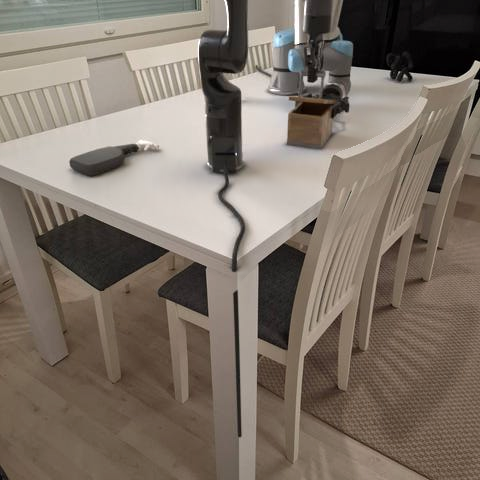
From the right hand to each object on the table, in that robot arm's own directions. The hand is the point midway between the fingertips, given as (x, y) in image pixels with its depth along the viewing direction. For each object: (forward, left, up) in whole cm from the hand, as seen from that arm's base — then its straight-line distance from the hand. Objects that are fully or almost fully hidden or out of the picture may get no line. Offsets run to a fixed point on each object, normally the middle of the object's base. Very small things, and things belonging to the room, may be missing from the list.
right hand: (315, 112), depth 136 cm
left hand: (+6, -3, +10) cm, 12 cm away
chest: (+4, -2, -7) cm, 8 cm away
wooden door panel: (+4, -2, +4) cm, 6 cm away
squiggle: (-70, +51, -7) cm, 87 cm away
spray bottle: (+16, -58, -7) cm, 61 cm away
